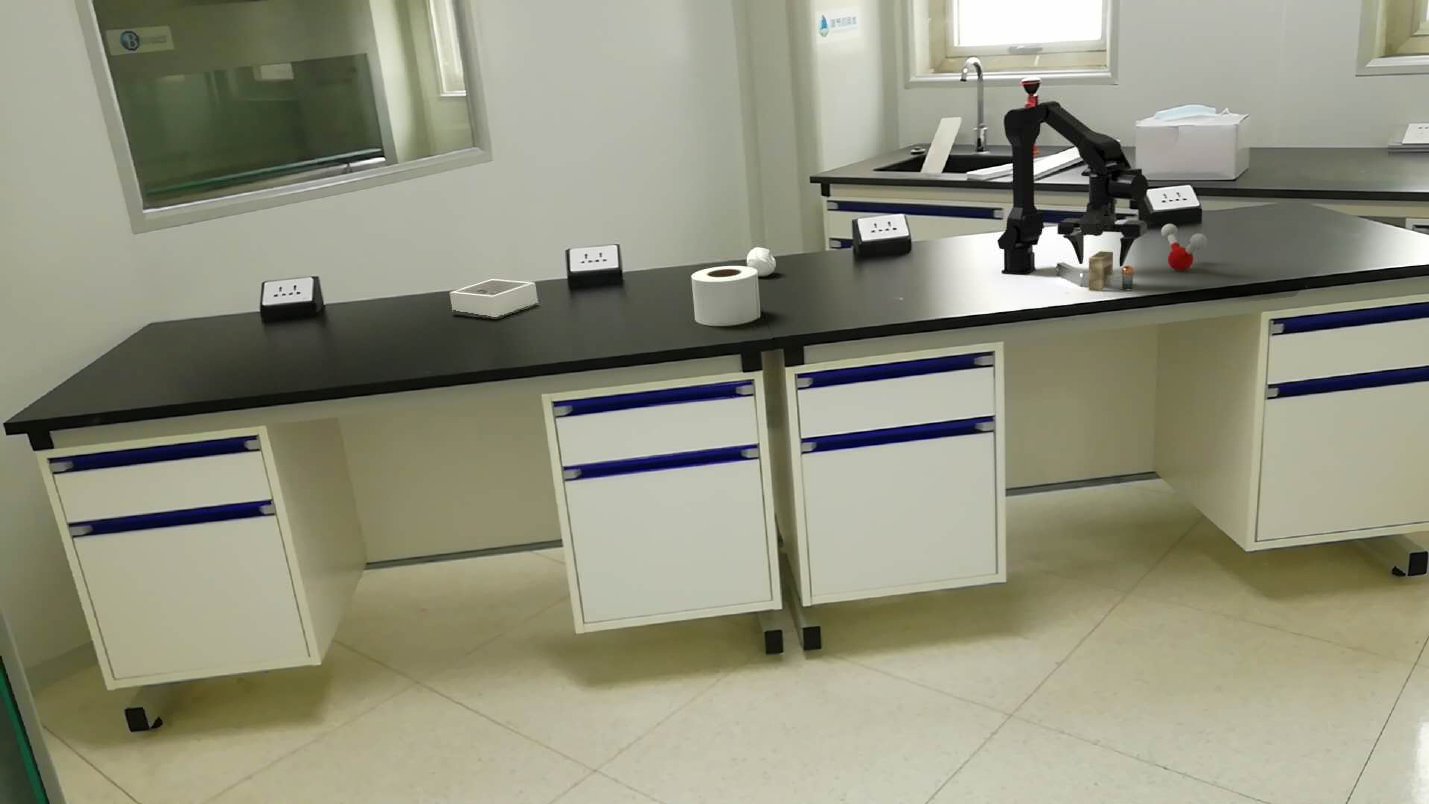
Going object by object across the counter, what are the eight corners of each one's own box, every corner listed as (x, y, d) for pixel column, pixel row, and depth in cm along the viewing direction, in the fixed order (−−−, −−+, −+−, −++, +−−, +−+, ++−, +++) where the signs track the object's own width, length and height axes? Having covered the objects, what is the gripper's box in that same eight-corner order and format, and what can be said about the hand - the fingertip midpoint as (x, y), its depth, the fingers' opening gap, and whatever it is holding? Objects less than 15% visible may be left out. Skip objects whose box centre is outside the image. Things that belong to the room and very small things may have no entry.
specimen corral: (453, 315, 300) (449, 292, 298) (495, 300, 311) (492, 278, 309) (496, 320, 291) (492, 296, 289) (538, 305, 302) (535, 282, 300)
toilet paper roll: (774, 312, 273) (770, 267, 269) (731, 329, 262) (727, 282, 259) (724, 306, 283) (720, 263, 279) (681, 322, 272) (677, 277, 269)
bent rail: (1040, 278, 281) (1040, 256, 279) (1060, 273, 283) (1060, 251, 282) (1115, 293, 261) (1115, 270, 259) (1135, 288, 263) (1136, 265, 262)
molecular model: (1209, 276, 267) (1211, 233, 264) (1186, 279, 267) (1188, 236, 264) (1173, 261, 284) (1175, 221, 281) (1151, 264, 284) (1153, 223, 280)
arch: (1088, 290, 266) (1089, 258, 263) (1099, 282, 271) (1100, 251, 269) (1101, 291, 264) (1102, 258, 261) (1112, 283, 269) (1113, 251, 267)
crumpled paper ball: (774, 279, 306) (771, 250, 303) (745, 280, 307) (743, 251, 305) (778, 272, 313) (776, 243, 311) (750, 273, 315) (748, 245, 312)
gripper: (1048, 202, 260) (1048, 270, 265) (1132, 204, 249) (1130, 275, 254) (1066, 193, 269) (1065, 259, 274) (1148, 195, 258) (1146, 264, 263)
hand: (1100, 264), depth 266 cm, fingers open, 9 cm apart
